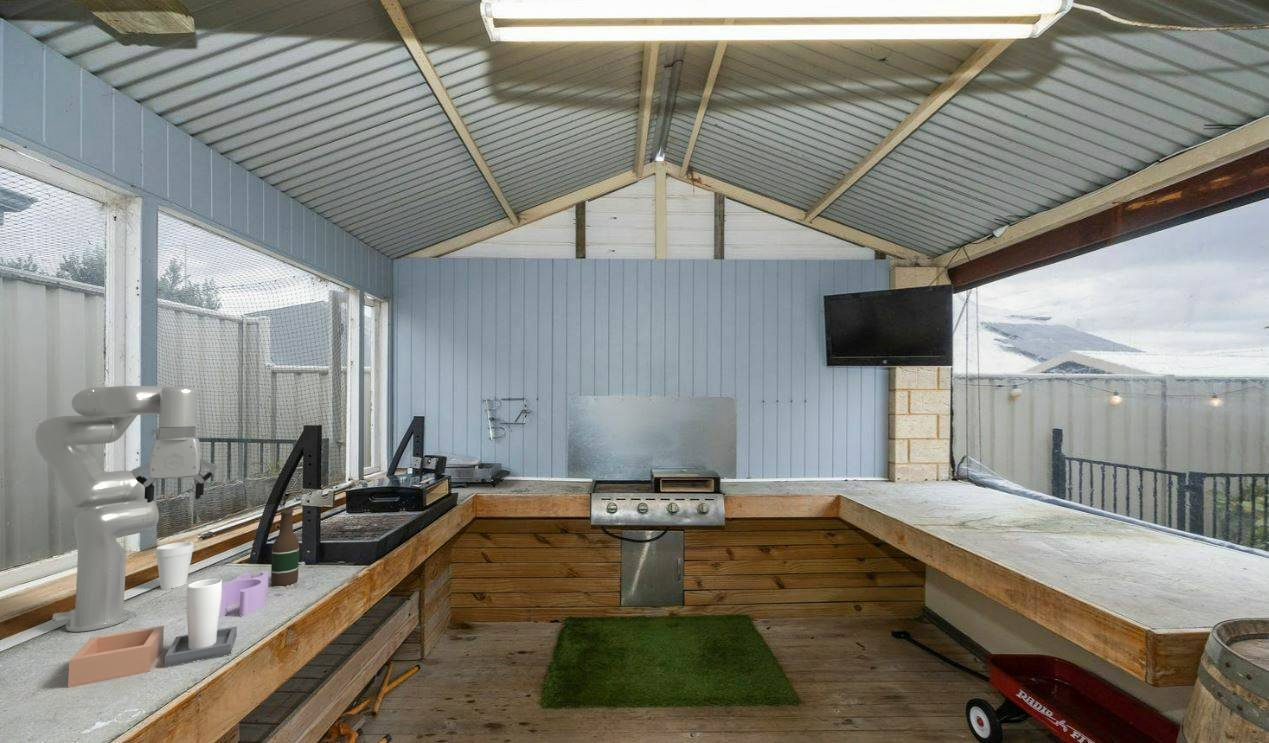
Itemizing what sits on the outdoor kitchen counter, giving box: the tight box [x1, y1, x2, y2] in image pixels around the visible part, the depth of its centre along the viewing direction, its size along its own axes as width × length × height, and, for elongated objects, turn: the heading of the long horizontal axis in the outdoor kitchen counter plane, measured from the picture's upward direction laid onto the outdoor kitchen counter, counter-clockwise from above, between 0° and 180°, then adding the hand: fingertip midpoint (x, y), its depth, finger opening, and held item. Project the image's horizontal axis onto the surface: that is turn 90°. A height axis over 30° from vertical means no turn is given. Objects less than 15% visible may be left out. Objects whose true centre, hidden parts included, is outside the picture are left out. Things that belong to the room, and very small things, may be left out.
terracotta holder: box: [67, 625, 165, 688], centre depth 123 cm, size 13×13×6 cm
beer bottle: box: [270, 508, 300, 587], centre depth 181 cm, size 8×8×24 cm
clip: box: [219, 570, 270, 619], centre depth 161 cm, size 20×12×7 cm, turn 17°
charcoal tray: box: [164, 626, 238, 668], centre depth 131 cm, size 12×12×2 cm
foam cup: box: [155, 541, 195, 590], centre depth 178 cm, size 10×9×13 cm
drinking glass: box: [185, 578, 223, 650], centre depth 132 cm, size 7×7×15 cm
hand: (174, 499), depth 142 cm, fingers open, 9 cm apart
